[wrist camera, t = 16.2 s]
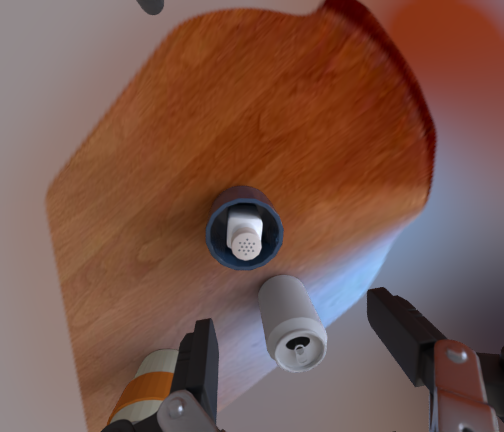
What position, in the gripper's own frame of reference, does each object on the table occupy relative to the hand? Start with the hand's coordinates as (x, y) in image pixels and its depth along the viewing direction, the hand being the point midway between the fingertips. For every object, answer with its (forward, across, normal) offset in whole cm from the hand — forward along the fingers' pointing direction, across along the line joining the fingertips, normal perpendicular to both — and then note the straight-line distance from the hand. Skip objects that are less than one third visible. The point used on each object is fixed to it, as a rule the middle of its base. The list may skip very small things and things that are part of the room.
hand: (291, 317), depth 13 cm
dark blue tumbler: (+24, +2, +2) cm, 24 cm away
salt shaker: (+24, +2, +2) cm, 24 cm away
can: (+24, -2, +16) cm, 29 cm away
